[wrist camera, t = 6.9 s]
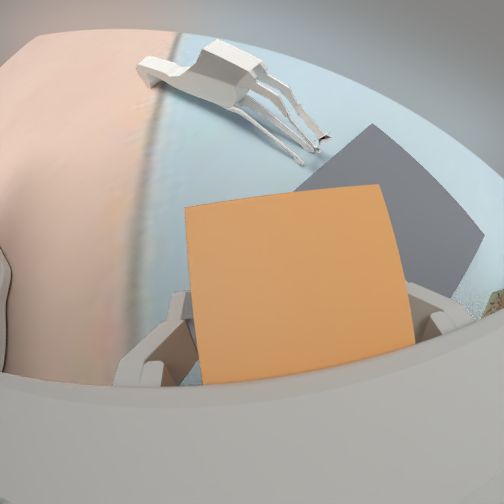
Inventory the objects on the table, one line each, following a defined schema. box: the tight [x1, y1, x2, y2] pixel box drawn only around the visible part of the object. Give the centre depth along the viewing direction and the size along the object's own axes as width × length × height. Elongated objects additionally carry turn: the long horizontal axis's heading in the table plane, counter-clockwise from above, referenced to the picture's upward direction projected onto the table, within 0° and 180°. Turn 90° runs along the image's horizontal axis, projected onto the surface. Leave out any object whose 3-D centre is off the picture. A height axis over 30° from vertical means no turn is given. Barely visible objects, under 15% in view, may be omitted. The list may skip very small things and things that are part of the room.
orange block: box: [185, 184, 415, 385], centre depth 10 cm, size 5×5×9 cm
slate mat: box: [293, 123, 485, 299], centre depth 18 cm, size 13×10×1 cm
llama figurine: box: [136, 39, 332, 165], centre depth 19 cm, size 2×11×18 cm
